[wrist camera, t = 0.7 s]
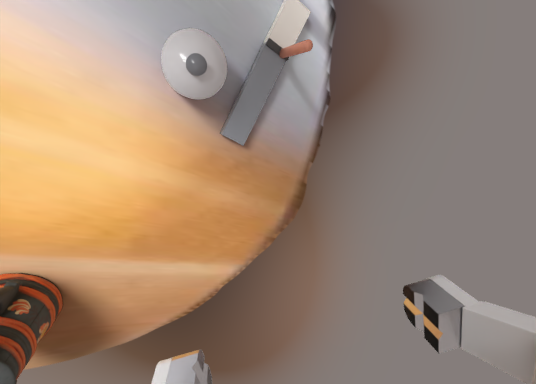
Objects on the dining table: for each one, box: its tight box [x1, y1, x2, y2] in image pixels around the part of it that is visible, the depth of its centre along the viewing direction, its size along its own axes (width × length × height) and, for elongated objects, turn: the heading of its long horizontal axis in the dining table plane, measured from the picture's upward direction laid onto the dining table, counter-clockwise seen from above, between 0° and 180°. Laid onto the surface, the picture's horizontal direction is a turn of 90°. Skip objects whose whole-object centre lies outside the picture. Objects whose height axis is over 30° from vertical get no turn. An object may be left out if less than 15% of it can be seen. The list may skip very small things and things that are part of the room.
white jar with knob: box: [161, 28, 227, 100], centre depth 41 cm, size 10×10×9 cm
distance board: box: [220, 0, 313, 146], centre depth 44 cm, size 5×28×12 cm, turn 150°
